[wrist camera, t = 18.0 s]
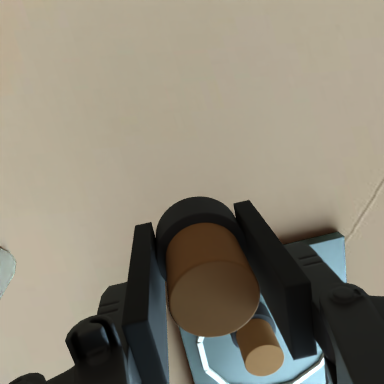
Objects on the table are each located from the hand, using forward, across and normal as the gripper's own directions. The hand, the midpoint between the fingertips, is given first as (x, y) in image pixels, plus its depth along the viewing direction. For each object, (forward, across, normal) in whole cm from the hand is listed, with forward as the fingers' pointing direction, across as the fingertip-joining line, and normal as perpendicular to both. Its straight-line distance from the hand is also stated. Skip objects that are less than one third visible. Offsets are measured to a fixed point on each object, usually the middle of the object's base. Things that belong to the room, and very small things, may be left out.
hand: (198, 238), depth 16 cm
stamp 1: (0, 0, 0) cm, 0 cm away
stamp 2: (+10, +3, -15) cm, 18 cm away
